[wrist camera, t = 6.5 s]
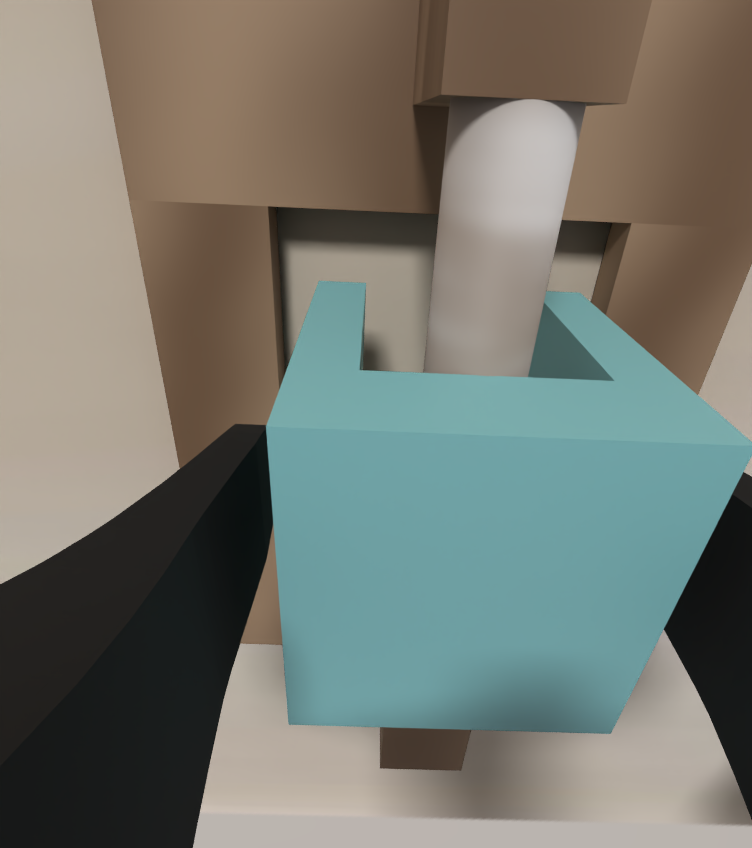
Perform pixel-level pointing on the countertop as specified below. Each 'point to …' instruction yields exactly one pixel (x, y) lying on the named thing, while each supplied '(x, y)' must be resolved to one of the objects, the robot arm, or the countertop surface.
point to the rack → (428, 184)
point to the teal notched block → (485, 525)
